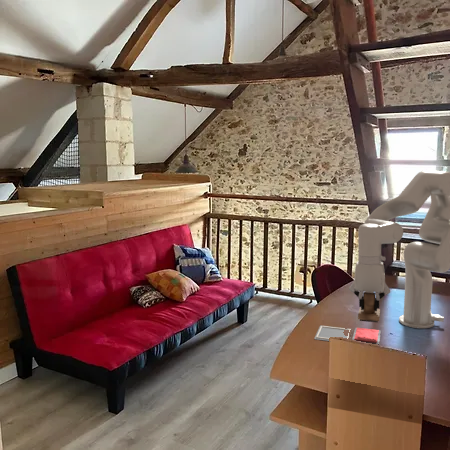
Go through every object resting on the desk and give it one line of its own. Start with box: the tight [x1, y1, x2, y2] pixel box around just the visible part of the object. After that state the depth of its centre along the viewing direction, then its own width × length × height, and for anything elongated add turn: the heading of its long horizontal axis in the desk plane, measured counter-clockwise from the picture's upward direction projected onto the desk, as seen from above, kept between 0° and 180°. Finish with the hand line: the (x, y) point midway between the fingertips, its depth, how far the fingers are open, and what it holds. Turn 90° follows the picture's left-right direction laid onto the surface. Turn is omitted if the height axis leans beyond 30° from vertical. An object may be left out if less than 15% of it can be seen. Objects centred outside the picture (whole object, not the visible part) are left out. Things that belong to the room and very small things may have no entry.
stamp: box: [357, 291, 381, 323], centre depth 162 cm, size 7×7×9 cm
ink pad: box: [351, 327, 381, 346], centre depth 164 cm, size 9×12×2 cm
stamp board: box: [314, 325, 352, 342], centre depth 168 cm, size 12×13×1 cm
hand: (369, 308), depth 163 cm, fingers closed on stamp, 4 cm apart
